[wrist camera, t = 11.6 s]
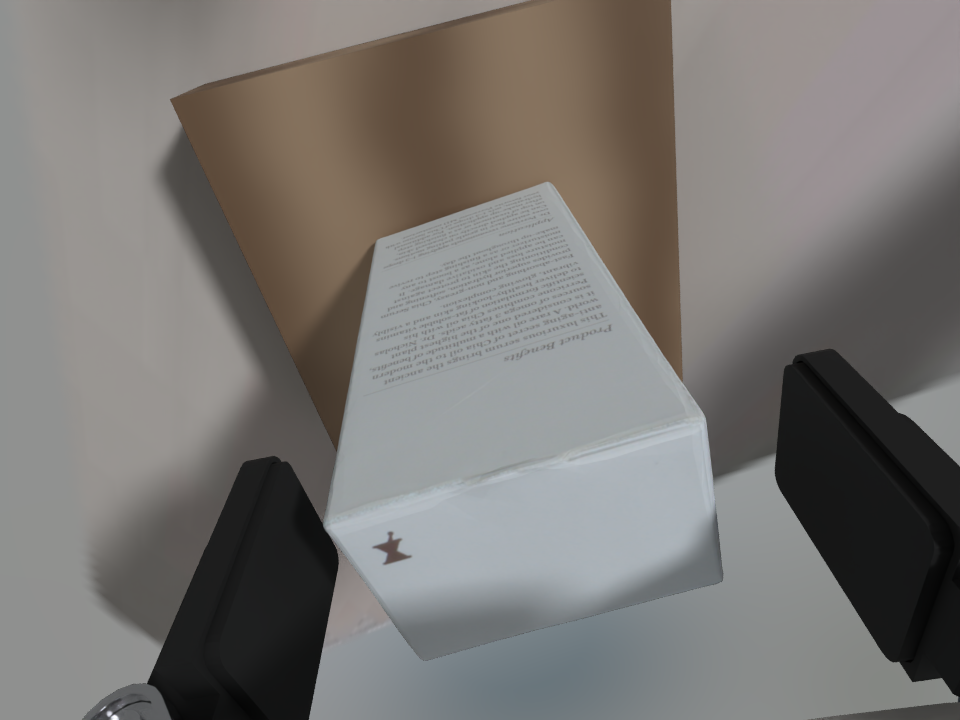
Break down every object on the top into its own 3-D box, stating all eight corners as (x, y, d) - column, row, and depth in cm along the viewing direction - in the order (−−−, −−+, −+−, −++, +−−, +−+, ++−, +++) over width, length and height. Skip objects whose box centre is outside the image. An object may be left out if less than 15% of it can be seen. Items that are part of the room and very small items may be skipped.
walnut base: (636, -27, 18) (669, -29, 15) (658, 348, 26) (682, 388, 23) (204, 84, 19) (170, 99, 16) (349, 416, 26) (341, 461, 24)
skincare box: (421, 343, 21) (411, 671, 11) (373, 236, 19) (306, 526, 9) (584, 291, 20) (733, 590, 10) (555, 174, 18) (711, 411, 8)
